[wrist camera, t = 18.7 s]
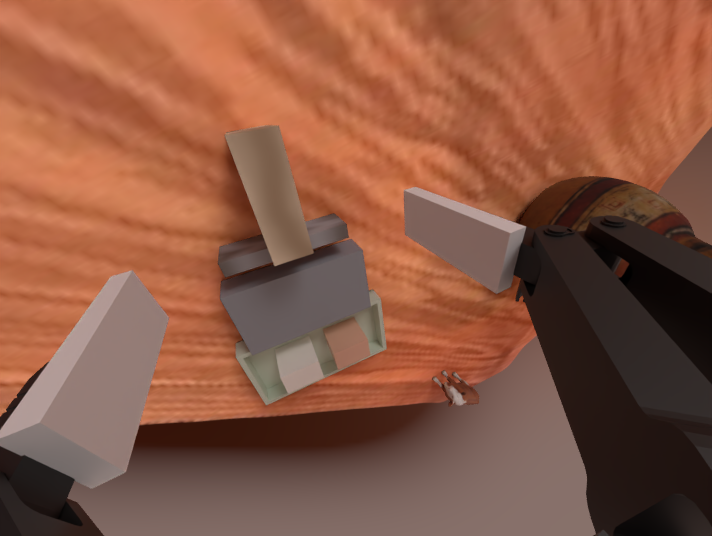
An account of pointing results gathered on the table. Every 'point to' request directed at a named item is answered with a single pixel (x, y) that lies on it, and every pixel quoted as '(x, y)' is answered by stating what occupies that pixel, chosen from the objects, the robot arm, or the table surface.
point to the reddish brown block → (346, 342)
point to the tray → (265, 364)
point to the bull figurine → (458, 391)
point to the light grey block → (298, 364)
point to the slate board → (297, 295)
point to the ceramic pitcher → (610, 210)
